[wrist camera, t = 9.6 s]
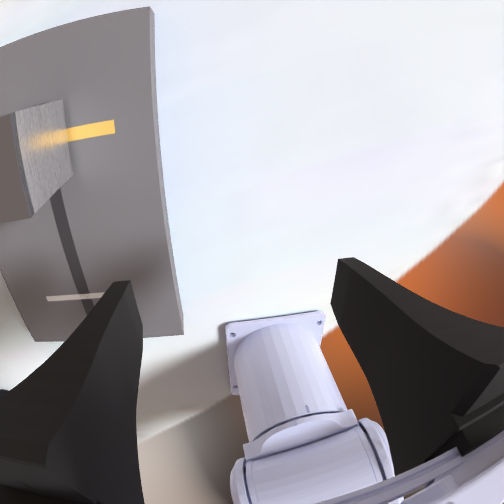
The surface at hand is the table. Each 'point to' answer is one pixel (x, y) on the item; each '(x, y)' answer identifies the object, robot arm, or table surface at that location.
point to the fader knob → (32, 159)
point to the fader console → (93, 178)
